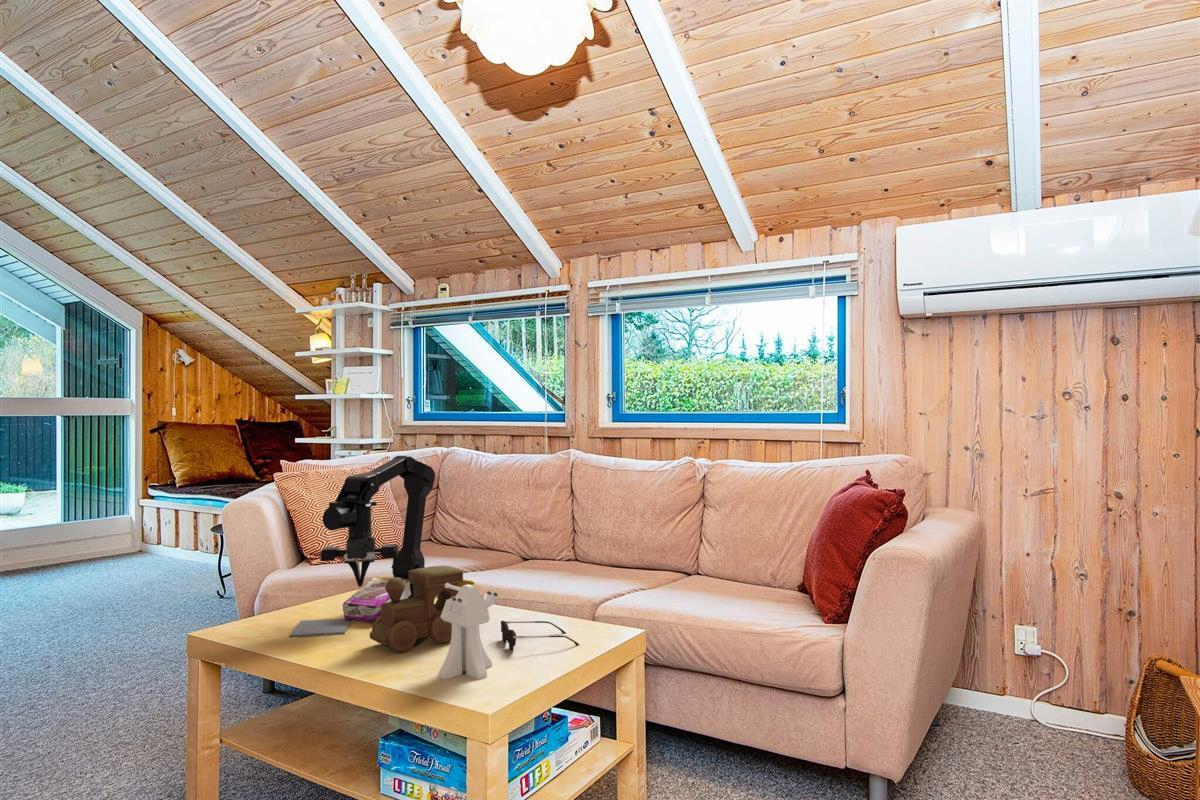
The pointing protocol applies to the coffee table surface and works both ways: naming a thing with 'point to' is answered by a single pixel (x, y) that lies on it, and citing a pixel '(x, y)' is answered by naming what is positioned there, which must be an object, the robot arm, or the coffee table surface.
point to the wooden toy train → (417, 608)
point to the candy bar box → (370, 600)
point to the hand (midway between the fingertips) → (360, 586)
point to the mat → (320, 627)
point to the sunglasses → (511, 636)
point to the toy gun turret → (466, 632)
